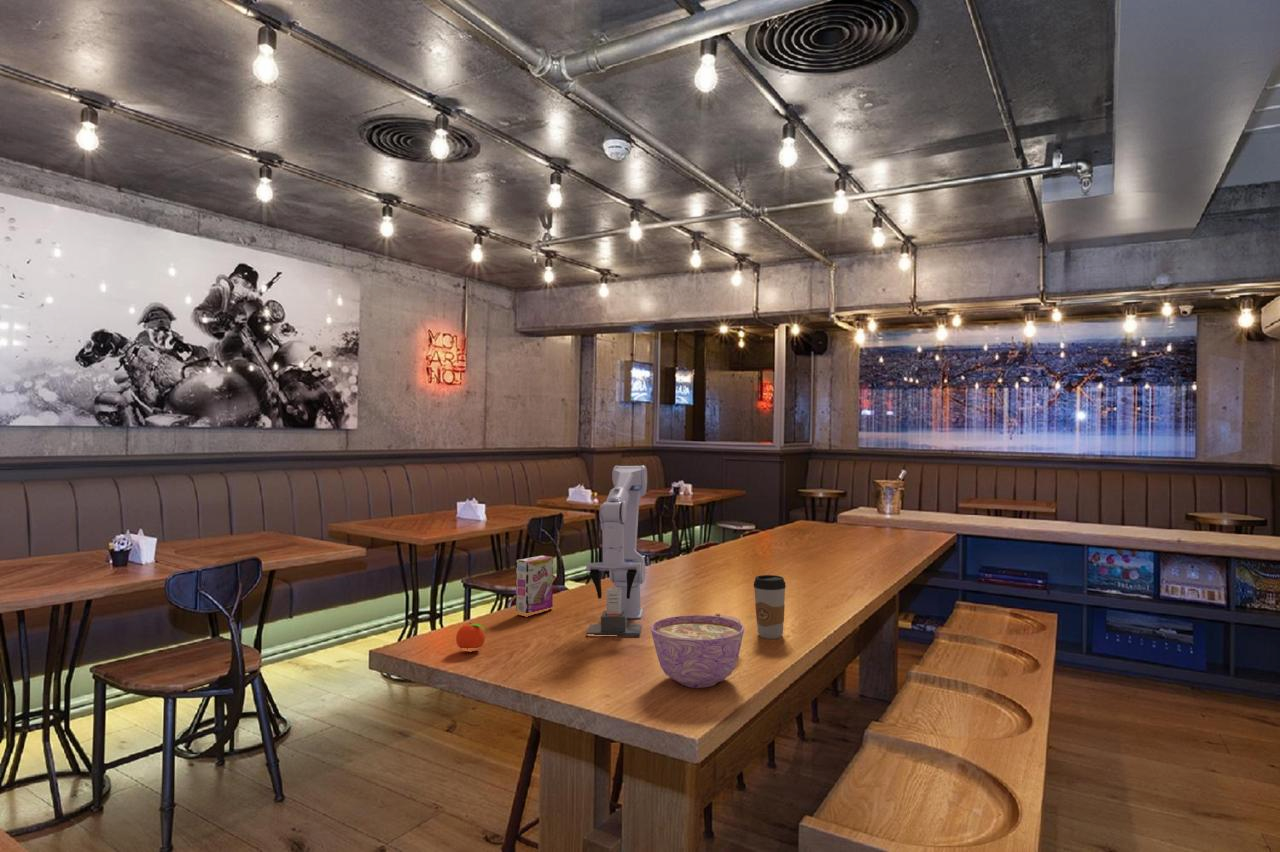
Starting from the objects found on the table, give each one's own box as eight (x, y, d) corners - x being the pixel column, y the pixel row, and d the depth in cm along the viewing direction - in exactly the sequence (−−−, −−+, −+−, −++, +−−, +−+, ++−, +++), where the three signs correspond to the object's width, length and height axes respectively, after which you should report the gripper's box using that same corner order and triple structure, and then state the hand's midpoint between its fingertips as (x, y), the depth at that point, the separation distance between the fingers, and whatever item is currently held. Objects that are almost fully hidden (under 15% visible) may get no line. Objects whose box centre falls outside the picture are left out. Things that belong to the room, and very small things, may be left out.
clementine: (494, 649, 176) (493, 620, 176) (480, 657, 169) (480, 627, 170) (465, 646, 178) (464, 618, 178) (450, 655, 172) (450, 625, 172)
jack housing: (590, 628, 194) (590, 608, 194) (641, 628, 193) (641, 609, 193) (586, 636, 186) (586, 616, 186) (639, 636, 185) (639, 616, 185)
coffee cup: (747, 636, 184) (746, 578, 184) (765, 629, 190) (764, 573, 190) (775, 642, 178) (774, 582, 179) (792, 634, 185) (791, 577, 185)
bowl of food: (670, 662, 164) (669, 611, 164) (755, 671, 156) (754, 619, 156) (636, 691, 145) (635, 634, 146) (731, 703, 138) (730, 644, 138)
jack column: (608, 618, 191) (607, 587, 192) (622, 618, 191) (621, 587, 191) (606, 621, 188) (606, 590, 188) (620, 621, 187) (620, 590, 188)
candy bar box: (527, 618, 206) (527, 561, 206) (515, 615, 209) (514, 560, 209) (554, 610, 215) (553, 556, 215) (542, 608, 218) (541, 554, 218)
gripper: (584, 549, 186) (584, 601, 186) (639, 549, 185) (639, 601, 185) (588, 545, 193) (588, 595, 193) (641, 545, 192) (641, 595, 192)
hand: (614, 597), depth 189 cm, fingers open, 7 cm apart
